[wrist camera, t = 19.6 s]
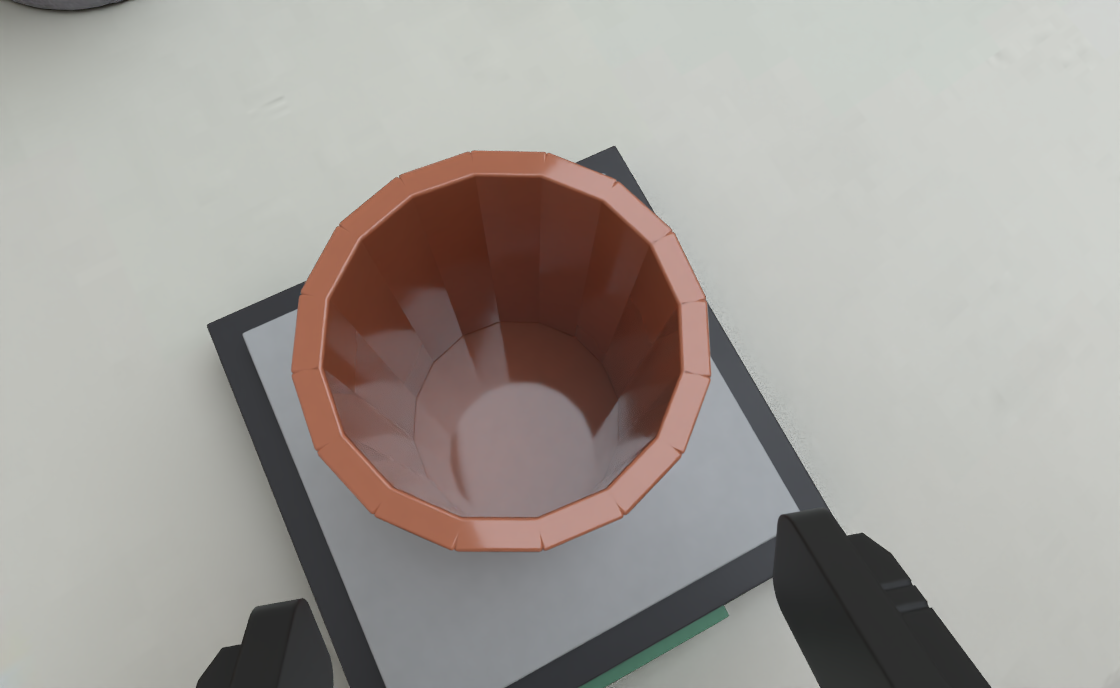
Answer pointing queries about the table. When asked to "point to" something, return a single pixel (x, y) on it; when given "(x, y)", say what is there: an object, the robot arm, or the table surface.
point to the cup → (501, 351)
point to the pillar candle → (65, 3)
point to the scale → (523, 577)
